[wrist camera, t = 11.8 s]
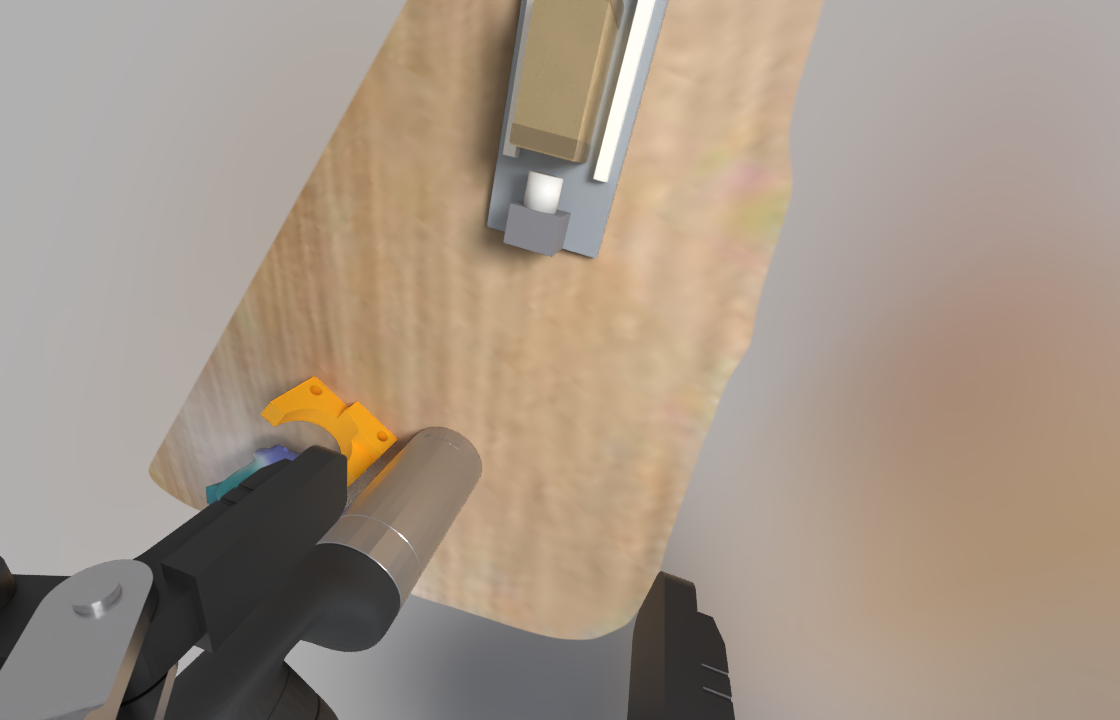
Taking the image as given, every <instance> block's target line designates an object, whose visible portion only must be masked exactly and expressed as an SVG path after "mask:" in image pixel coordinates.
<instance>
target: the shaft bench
mask: <svg viewBox="0 0 1120 720" xmlns="http://www.w3.org/2000/svg"><path fill="white" fill-rule="evenodd" d="M533 2H534V0H522V2H521V8H520V15H519V21H518V28H517V34H516V41H515V47H514V54H513V60H512V67H511V73H510V80H509V86H508V93H507V99H506V106H505V112H504V119H503V125H502V132H501V138H500V145H499V151H498V157H497V164H496V170H495V177H494V183H493V190H492V196H491V203H490V209H489V216H488V222H487V227H490V228H493V229H497V230H500V231H504V232H505V236H504V242H503V243H506V244H510V245H513V246H516V247H520V248H523V249H527V250H530V251H533V252H537V253H540V254H544V255H547V256H550V257H552V256H553V255H555V254H556V253H557V252H559V251H560V250H562V249H565V250H569V251H572V252H576V253H579V254H582V255H586V256H589V257H593V258H597V257H598V253H599V250H600V246H601V242H602V239H603V235H604V232H605V228H606V224H607V221H608V217H609V213H610V210H611V206H612V203H613V199H614V195H615V192H616V188H617V185H618V181H619V177H620V174H621V170H622V167H623V163H624V159H625V156H626V152H627V149H628V145H629V141H630V138H631V134H632V130H633V127H634V123H635V120H636V116H637V112H638V109H639V105H640V102H641V98H642V94H643V91H644V87H645V84H646V80H647V76H648V73H649V69H650V65H651V62H652V58H653V55H654V51H655V47H656V44H657V40H658V37H659V33H660V29H661V26H662V22H663V19H664V15H665V11H666V8H667V4H668V0H623V3H624V12H623V16H622V20H621V24H620V29H619V30H618V34H617V38H616V42H615V46H614V50H613V55H612V59H611V63H610V67H609V71H608V75H607V79H606V84H605V88H604V92H603V96H602V100H601V104H600V108H599V113H598V117H597V121H596V125H595V129H594V133H593V137H592V142H591V148H590V152H589V157H588V161H587V162H586V163H581V162H574V161H570V160H566V159H563V158H559V157H555V156H551V155H548V154H544V153H540V152H537V151H533V150H529V149H525V148H522V147H518V146H514V145H511V144H510V143H509V140H510V134H511V128H512V123H514V117H515V111H516V105H517V99H518V93H519V87H520V81H521V75H522V69H523V62H524V56H525V50H526V44H527V38H528V32H529V26H530V20H531V14H532V8H533Z"/></svg>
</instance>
